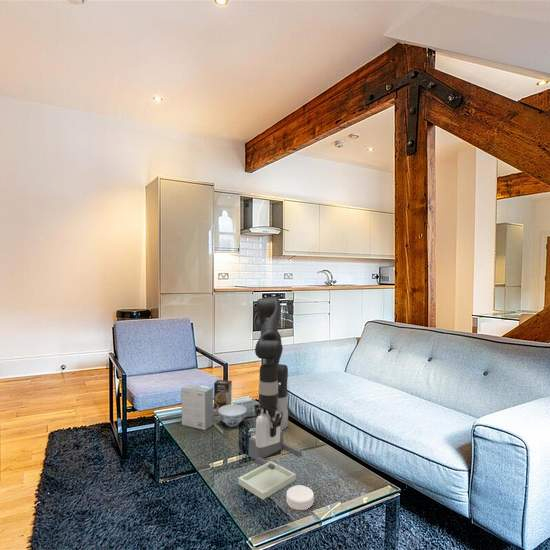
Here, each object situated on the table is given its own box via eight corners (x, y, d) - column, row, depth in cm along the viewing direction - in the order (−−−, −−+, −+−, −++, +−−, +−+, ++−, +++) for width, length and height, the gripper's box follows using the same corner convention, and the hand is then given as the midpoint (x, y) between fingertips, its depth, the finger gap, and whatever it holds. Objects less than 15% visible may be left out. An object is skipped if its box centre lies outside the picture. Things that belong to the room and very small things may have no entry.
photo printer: (275, 438, 154) (276, 408, 154) (281, 442, 151) (282, 411, 150) (253, 444, 148) (254, 413, 148) (259, 449, 145) (259, 417, 144)
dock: (275, 443, 182) (275, 425, 182) (301, 455, 171) (301, 436, 170) (246, 457, 169) (246, 438, 168) (272, 471, 158) (272, 450, 157)
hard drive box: (213, 424, 201) (213, 387, 201) (205, 430, 194) (205, 392, 194) (189, 419, 208) (189, 383, 207) (180, 424, 201) (180, 387, 200)
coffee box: (213, 410, 221) (213, 382, 220) (216, 406, 227) (217, 379, 227) (228, 411, 219) (228, 383, 219) (231, 407, 226) (231, 380, 225)
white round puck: (317, 509, 134) (317, 499, 134) (290, 512, 132) (290, 502, 132) (309, 492, 144) (309, 483, 144) (283, 495, 142) (283, 486, 142)
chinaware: (250, 419, 208) (250, 405, 208) (241, 431, 194) (241, 416, 193) (224, 416, 212) (224, 403, 212) (213, 428, 197) (213, 413, 197)
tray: (270, 466, 161) (270, 460, 161) (295, 480, 152) (295, 474, 151) (238, 483, 148) (238, 477, 148) (263, 500, 139) (263, 493, 139)
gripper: (288, 393, 146) (287, 437, 147) (262, 384, 156) (262, 425, 157) (274, 398, 141) (274, 443, 142) (249, 389, 151) (248, 431, 152)
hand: (267, 433), depth 149 cm, fingers closed on photo printer, 4 cm apart
